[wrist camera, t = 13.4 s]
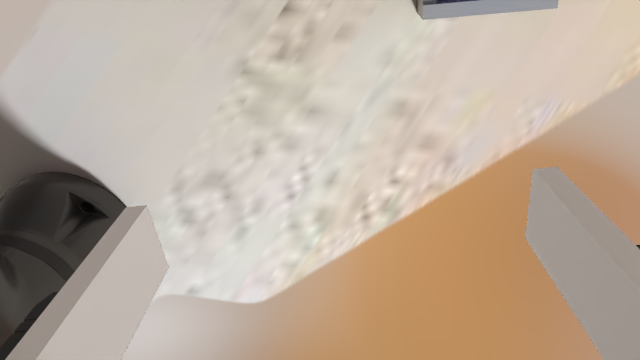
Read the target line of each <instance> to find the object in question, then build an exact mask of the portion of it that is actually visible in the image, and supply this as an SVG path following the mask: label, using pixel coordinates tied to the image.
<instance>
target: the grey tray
mask: <svg viewBox="0 0 640 360" xmlns="http://www.w3.org/2000/svg"><path fill="white" fill-rule="evenodd" d="M557 6H558V0H417V13H418V14H419V15H420V17H421V18H422V19H423V20H424V19H436V18H448V17H460V16H471V15H483V14H495V13H506V12H518V11H530V10H542V9H553V8H557Z"/></svg>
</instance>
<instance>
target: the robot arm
mask: <svg viewBox="0 0 640 360" xmlns="http://www.w3.org/2000/svg"><path fill="white" fill-rule="evenodd" d="M525 239H526V240H527V242H528V243H529V245H530V246H531V248H532V249H533V251H534V252H535V254H536V256H537V257H538V259H539V260H540V262H541V263H542V265H543V266H544V268H545V269H546V271H547V273H548V274H549V276H550V277H551V279H552V280H553V282H554V283H555V285H556V286H557V288H558V289H559V291H560V293H561V294H562V296H563V297H564V299H565V300H566V302H567V303H568V305H569V306H570V308H571V310H572V311H573V313H574V314H575V316H576V317H577V319H578V320H579V322H580V324H581V325H582V327H583V328H584V330H585V331H586V332H587V334H588V336H589V337H590V339H591V340H592V342H593V344H594V345H595V347H596V348H597V350H598V351H599V353H600V354H601V356H602V358H603V359H604V360H640V245H635V244H634V243H633V242H632V241H631V240H630V239H629V238H628V237H627V236H626V235H625V234H624V233H623V232H622V231H621V230H620V229H619V228H618V227H617V226H616V225H615V224H614V223H613V222H612V221H611V220H610V219H609V218H608V217H607V216H606V215H605V214H604V213H603V212H602V211H601V210H600V209H599V208H598V207H597V206H596V205H595V204H594V203H593V202H592V201H591V200H590V199H589V198H588V197H587V196H586V195H585V194H584V193H583V192H582V191H581V190H580V189H579V188H578V187H577V186H576V185H575V184H574V183H573V182H572V181H571V180H570V179H569V178H568V177H567V176H566V175H565V174H564V173H563V172H562V171H561V170H560V169H559V168H558V167H550V168H540V169H533V173H532V182H531V191H530V200H529V209H528V218H527V227H526V236H525ZM168 268H169V266H168V263H167V260H166V258H165V255H164V252H163V249H162V246H161V244H160V241H159V238H158V235H157V233H156V230H155V227H154V224H153V221H152V219H151V216H150V213H149V210H148V207H147V205H146V206H136V207H125V206H124V205H123V204H122V203H121V202H120V201H119V200H118V199H117V198H116V197H115V196H113V195H112V194H111V193H109V192H108V191H107V190H105V189H104V188H102V187H100V186H99V185H97V184H95V183H93V182H91V181H89V180H86V179H84V178H81V177H78V176H74V175H70V174H65V173H41V174H36V175H33V176H30V177H28V178H25V179H24V180H22V181H21V182H19V183H18V184H16V185H15V186H14V187H12V188H11V189H10V190H8V191H7V192H6V193H5V194H4V195H3V196H2V197H1V198H0V360H121V359H122V358H123V355H124V354H125V352H126V350H127V348H128V346H129V344H130V342H131V340H132V338H133V336H134V334H135V332H136V330H137V328H138V326H139V325H140V323H141V321H142V318H143V316H144V315H145V313H146V311H147V309H148V307H149V305H150V303H151V301H152V299H153V297H154V295H155V293H156V291H157V289H158V288H159V286H160V284H161V282H162V280H163V278H164V276H165V274H166V272H167V270H168Z"/></svg>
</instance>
